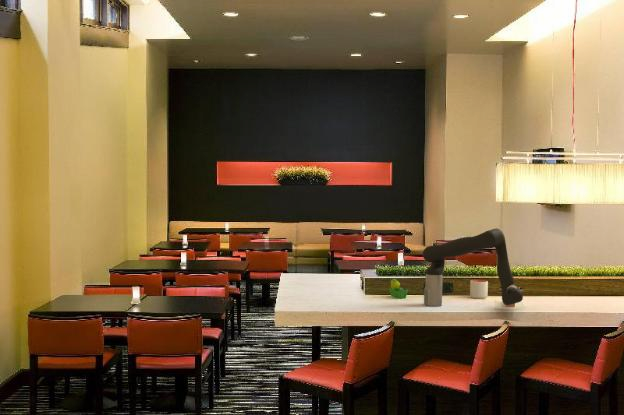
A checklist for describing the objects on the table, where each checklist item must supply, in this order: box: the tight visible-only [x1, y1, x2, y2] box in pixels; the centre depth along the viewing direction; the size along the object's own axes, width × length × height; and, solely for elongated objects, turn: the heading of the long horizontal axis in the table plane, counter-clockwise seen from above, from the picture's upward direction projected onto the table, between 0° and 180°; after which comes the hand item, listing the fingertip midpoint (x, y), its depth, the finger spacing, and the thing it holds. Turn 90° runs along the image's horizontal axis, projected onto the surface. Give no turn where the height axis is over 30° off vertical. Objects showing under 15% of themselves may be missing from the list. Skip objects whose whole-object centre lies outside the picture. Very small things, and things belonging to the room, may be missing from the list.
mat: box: [494, 300, 526, 311], centre depth 454 cm, size 24×16×1 cm, turn 168°
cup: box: [469, 279, 489, 300], centre depth 482 cm, size 10×10×10 cm
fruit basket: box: [388, 278, 409, 300], centre depth 478 cm, size 11×9×11 cm
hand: (510, 287), depth 451 cm, fingers closed
